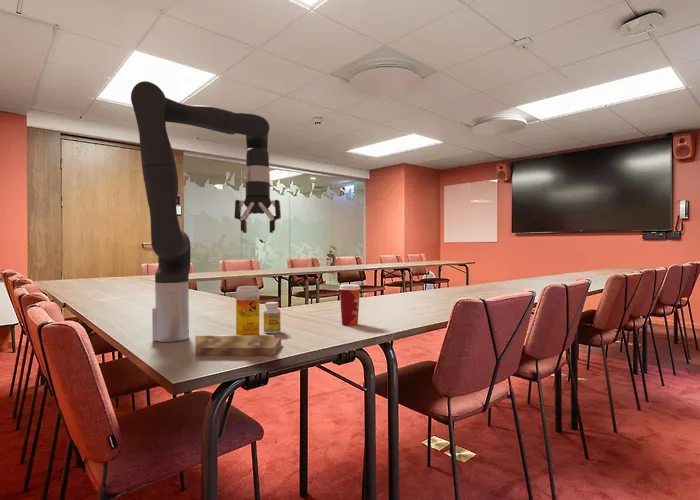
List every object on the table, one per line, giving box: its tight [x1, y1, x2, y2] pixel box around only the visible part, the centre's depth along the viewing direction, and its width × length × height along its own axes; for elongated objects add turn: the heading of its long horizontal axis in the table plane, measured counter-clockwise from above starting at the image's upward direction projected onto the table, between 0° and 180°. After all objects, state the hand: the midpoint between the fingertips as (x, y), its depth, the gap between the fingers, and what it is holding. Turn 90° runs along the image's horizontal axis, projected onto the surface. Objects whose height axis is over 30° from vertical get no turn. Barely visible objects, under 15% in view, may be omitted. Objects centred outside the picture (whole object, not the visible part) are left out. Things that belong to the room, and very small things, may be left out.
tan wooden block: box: [194, 334, 282, 357], centre depth 111 cm, size 20×11×5 cm, turn 89°
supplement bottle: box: [263, 301, 281, 334], centre depth 133 cm, size 5×5×10 cm
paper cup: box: [338, 283, 362, 327], centre depth 146 cm, size 8×8×14 cm
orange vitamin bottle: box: [235, 285, 260, 335], centre depth 111 cm, size 6×6×15 cm
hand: (257, 232), depth 131 cm, fingers open, 8 cm apart
